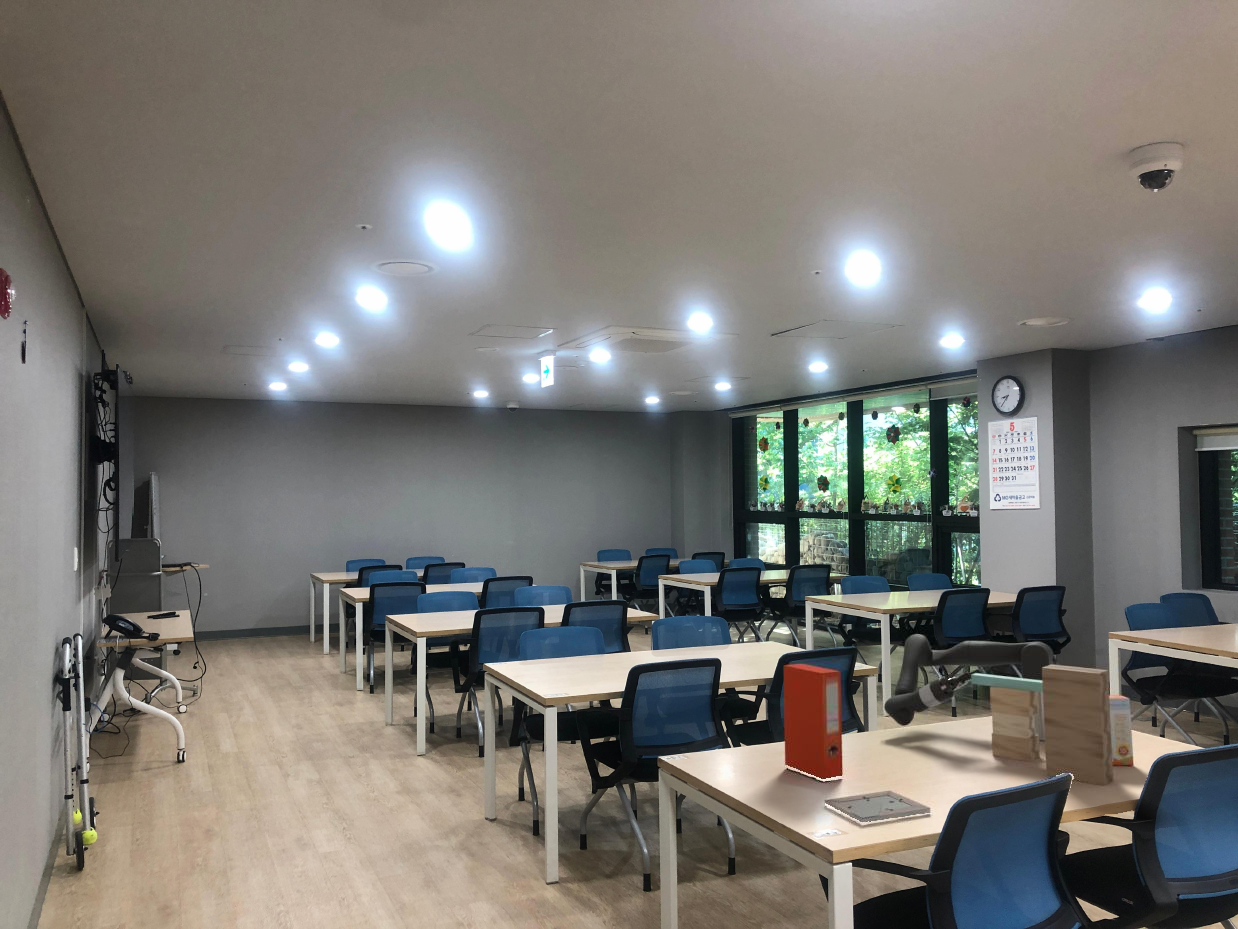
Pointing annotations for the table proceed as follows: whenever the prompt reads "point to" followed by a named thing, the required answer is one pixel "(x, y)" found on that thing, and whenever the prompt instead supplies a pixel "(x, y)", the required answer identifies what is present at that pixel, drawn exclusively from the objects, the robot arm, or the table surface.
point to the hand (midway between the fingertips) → (975, 673)
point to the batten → (1007, 682)
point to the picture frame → (877, 806)
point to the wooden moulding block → (1077, 723)
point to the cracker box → (1121, 730)
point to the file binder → (813, 720)
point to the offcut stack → (1014, 723)
